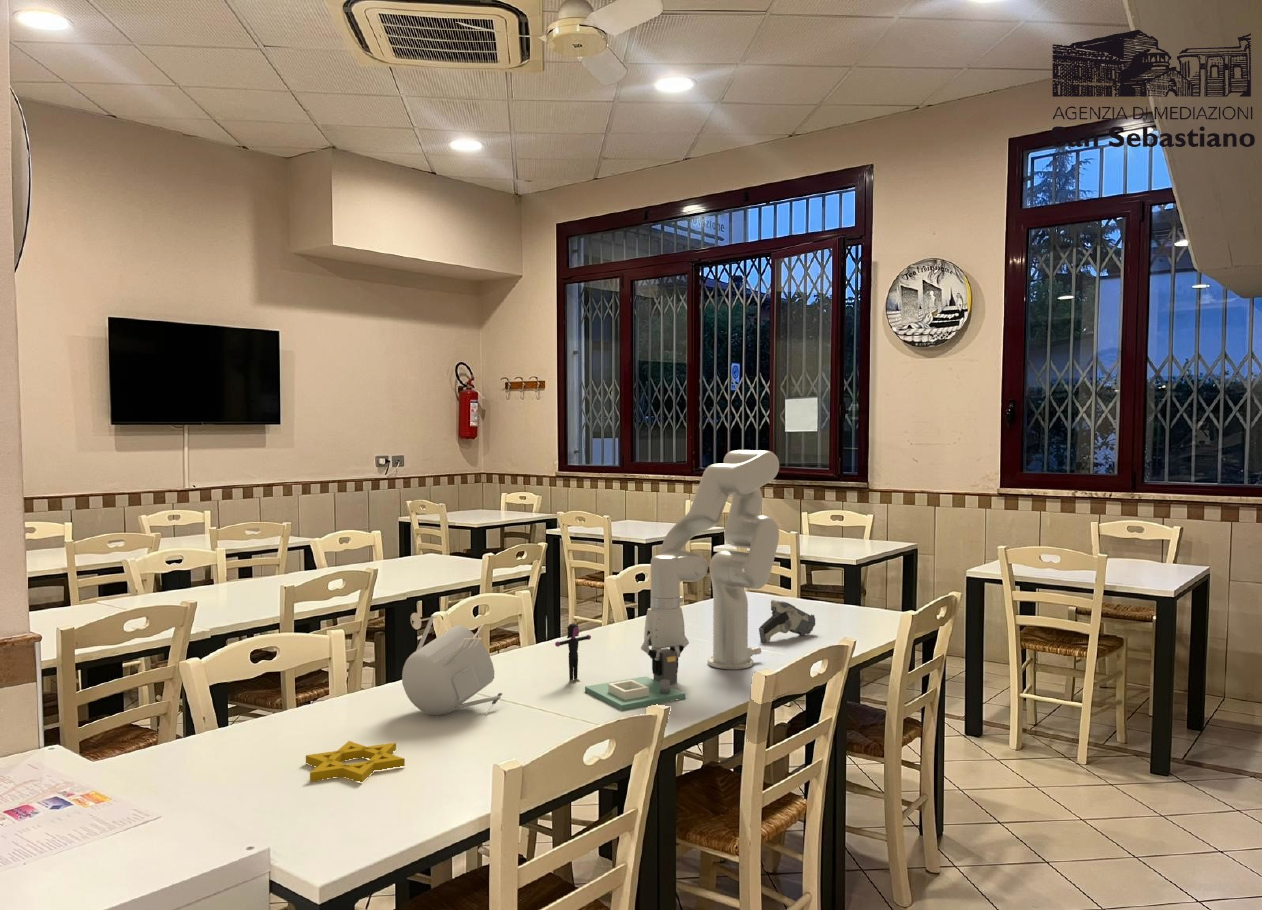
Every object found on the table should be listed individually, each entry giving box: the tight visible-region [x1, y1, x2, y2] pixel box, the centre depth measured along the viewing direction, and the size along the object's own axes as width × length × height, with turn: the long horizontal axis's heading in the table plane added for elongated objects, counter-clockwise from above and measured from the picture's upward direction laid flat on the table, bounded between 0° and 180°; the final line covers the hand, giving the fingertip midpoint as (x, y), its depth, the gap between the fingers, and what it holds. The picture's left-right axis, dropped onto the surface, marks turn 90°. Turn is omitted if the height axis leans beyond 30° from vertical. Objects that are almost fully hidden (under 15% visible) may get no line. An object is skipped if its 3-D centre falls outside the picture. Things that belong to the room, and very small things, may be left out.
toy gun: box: [758, 599, 816, 644], centre depth 283 cm, size 4×21×15 cm, turn 124°
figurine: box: [554, 622, 592, 684], centre depth 235 cm, size 12×4×15 cm, turn 136°
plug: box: [653, 647, 678, 685], centre depth 234 cm, size 4×6×8 cm
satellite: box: [401, 612, 503, 716], centre depth 209 cm, size 23×20×25 cm
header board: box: [584, 676, 686, 711], centre depth 223 cm, size 18×18×4 cm
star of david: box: [305, 741, 406, 782], centre depth 176 cm, size 20×17×2 cm
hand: (665, 672), depth 235 cm, fingers open, 4 cm apart
